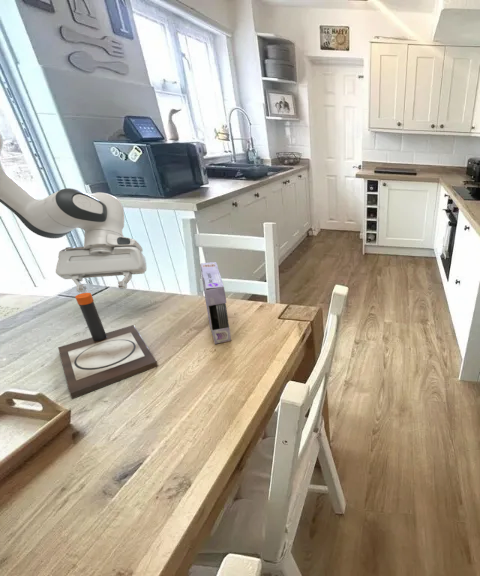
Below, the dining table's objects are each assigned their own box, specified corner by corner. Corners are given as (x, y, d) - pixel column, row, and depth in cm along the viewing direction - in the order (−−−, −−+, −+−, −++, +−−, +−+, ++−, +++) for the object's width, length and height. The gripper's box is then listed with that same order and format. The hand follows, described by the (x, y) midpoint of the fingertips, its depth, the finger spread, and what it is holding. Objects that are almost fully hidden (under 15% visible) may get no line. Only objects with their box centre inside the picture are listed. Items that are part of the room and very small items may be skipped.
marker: (90, 342, 85) (72, 298, 79) (95, 335, 87) (78, 293, 82) (104, 340, 86) (88, 297, 80) (109, 334, 88) (93, 292, 82)
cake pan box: (234, 342, 91) (224, 286, 83) (214, 347, 88) (202, 289, 80) (225, 311, 105) (215, 260, 97) (207, 314, 103) (197, 263, 95)
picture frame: (60, 352, 83) (57, 346, 82) (135, 329, 94) (133, 323, 93) (72, 398, 70) (69, 392, 69) (158, 366, 80) (156, 360, 80)
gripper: (52, 242, 89) (47, 290, 85) (140, 239, 96) (140, 282, 92) (66, 252, 94) (62, 297, 90) (148, 248, 101) (148, 289, 97)
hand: (102, 289), depth 91 cm, fingers open, 8 cm apart
